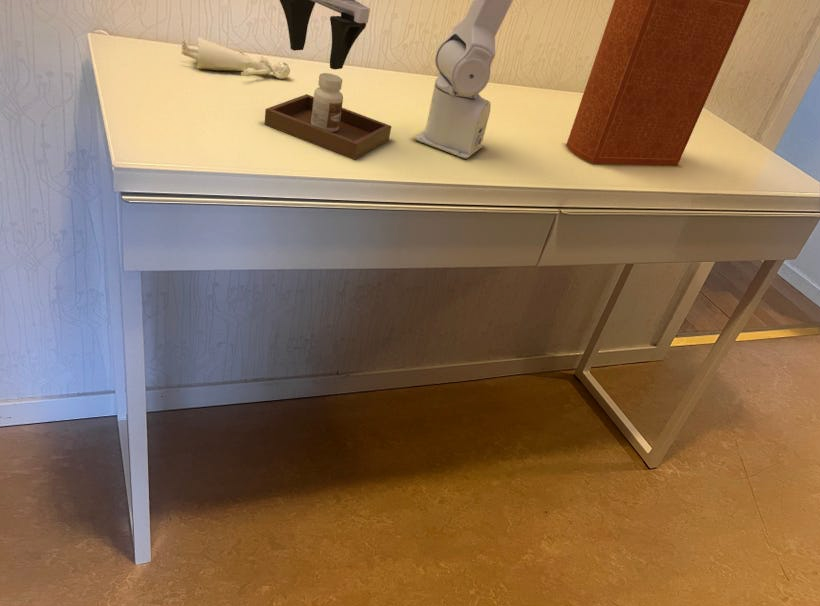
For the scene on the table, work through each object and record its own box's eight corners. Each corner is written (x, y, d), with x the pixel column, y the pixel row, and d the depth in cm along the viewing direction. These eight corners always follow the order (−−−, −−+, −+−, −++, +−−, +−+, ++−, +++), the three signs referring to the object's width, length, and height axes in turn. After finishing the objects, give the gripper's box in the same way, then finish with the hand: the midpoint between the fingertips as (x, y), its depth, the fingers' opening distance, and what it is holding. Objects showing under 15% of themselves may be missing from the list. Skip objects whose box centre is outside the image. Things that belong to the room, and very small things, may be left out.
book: (650, 148, 140) (717, -15, 123) (677, 165, 135) (751, -2, 117) (561, 144, 129) (621, -35, 112) (587, 164, 124) (653, -21, 106)
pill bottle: (333, 135, 107) (340, 84, 102) (306, 127, 107) (311, 76, 102) (342, 127, 110) (349, 77, 106) (316, 119, 110) (322, 69, 106)
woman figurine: (183, 25, 119) (289, 49, 126) (181, 51, 122) (285, 74, 129) (181, 45, 111) (294, 70, 118) (179, 73, 113) (290, 96, 120)
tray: (389, 140, 111) (391, 125, 110) (354, 159, 102) (356, 144, 101) (305, 108, 114) (306, 93, 113) (264, 124, 105) (265, 108, 104)
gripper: (269, -63, 93) (260, 42, 101) (353, -29, 89) (336, 79, 96) (305, -60, 98) (293, 40, 106) (385, -27, 94) (367, 75, 102)
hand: (316, 58), depth 102 cm, fingers open, 7 cm apart
